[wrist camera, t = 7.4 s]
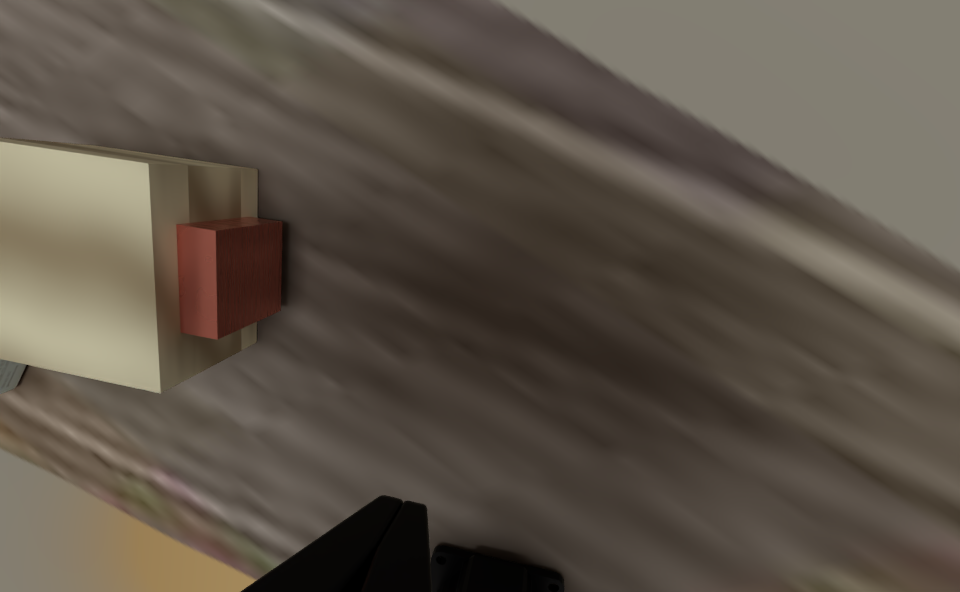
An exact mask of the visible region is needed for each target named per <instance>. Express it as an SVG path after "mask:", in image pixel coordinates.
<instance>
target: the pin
mask: <svg viewBox="0 0 960 592" xmlns="http://www.w3.org/2000/svg"><path fill="white" fill-rule="evenodd" d="M176 231H177V256H178V281H179V306H180V331H181V333H186V334H191V335H196V336H201V337H206V338H211V339H216V340H218V339H220V338H222V337H225V336H227V335H229V334H231V333H233V332H235V331H238V330H240V329H242V328H244V327H246V326H248V325H251V324H253V323H255V322H257V321H259V320H261V319H264V318H266V317H268V316H270V315H272V314H274V313H277V312H279V311H281V272H282V221H275V220H269V219H263V218H256V217H241V218H232V219H222V220H213V221H203V222H194V223H185V224H176Z"/></svg>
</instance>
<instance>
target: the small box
mask: <svg viewBox="0 0 960 592" xmlns="http://www.w3.org/2000/svg"><path fill="white" fill-rule="evenodd" d="M25 367H26V364H21V363H17V362H12V361H7V360H3V359H0V394H2V393H4V392H7V391H10V390H12V389H14V388H15V387H16V386H17V384H18V382H19V380H20V378H21V376H22V374H23V372H24V370H25Z"/></svg>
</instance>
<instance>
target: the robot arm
mask: <svg viewBox="0 0 960 592" xmlns="http://www.w3.org/2000/svg"><path fill="white" fill-rule="evenodd" d="M440 556H443V557H445V558H441V557H440ZM551 583H555V584H557V585H552V584H551ZM241 592H564V579H563V577H562V576H561V575H560V574H558V573H556V572H552V571H548V570H544V569H540V568H535V567H531V566H527V565H523V564H519V563H514V562H510V561H506V560H502V559H498V558H494V557H489V556H485V555H481V554H477V553H473V552H468V551H464V550H460V549H456V548H452V547H448V546H441V545H440V546H437V547H436V548H435V549H434V551H433V554H432V557H431V564H430V548H429V532H428V516H427V507H426V505H424V504H420V503H416V502H412V501H405V502H404V503H403V501H402V500H401V499H398V498H394V497H390V496H385V495H382V496H379V497H378V498H376V499H375V500H373V501H372V502H370V503H369V504H367V505H366V506H364V507H363V508H362V509H360V510H359V511H357V512H356V513H354V514H353V515H351V516H350V517H348V518H347V519H345V520H344V521H343V522H341V523H340V524H338V525H337V526H335V527H334V528H332V529H331V530H329V531H328V532H327V533H325V534H324V535H322V536H321V537H319V538H318V539H316V540H315V541H313V542H312V543H311V544H309V545H308V546H306V547H305V548H303V549H302V550H300V551H299V552H297V553H296V554H295V555H293V556H292V557H290V558H289V559H287V560H286V561H284V562H283V563H281V564H280V565H279V566H277V567H276V568H274V569H273V570H271V571H270V572H268V573H267V574H265V575H264V576H263V577H261V578H260V579H258V580H257V581H255V582H254V583H253V584H251V585H250V586H248V587H247V588H245V589H244V590H242V591H241Z"/></svg>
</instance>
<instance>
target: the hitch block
mask: <svg viewBox="0 0 960 592" xmlns="http://www.w3.org/2000/svg"><path fill="white" fill-rule="evenodd" d="M257 216H258V169H253V168H247V167H240V166H233V165H226V164H219V163H212V162H205V161H198V160H191V159H184V158H178V157H171V156H164V155H157V154H150V153H143V152H136V151H129V150H122V149H115V148H109V147H102V146H95V145H83V144H71V143H59V142H48V141H36V140H24V139H12V138H0V359H3V360H7V361H12V362H17V363H21V364H26V365H31V366H35V367H40V368H45V369H49V370H54V371H59V372H63V373H68V374H73V375H77V376H82V377H87V378H91V379H96V380H101V381H105V382H110V383H115V384H119V385H124V386H129V387H133V388H138V389H143V390H147V391H152V392H157V393H162V392H164V391H166V390H168V389H170V388H172V387H174V386H176V385H177V384H179V383H181V382H183V381H185V380H187V379H189V378H191V377H192V376H194V375H196V374H198V373H200V372H202V371H204V370H206V369H207V368H209V367H211V366H213V365H215V364H217V363H219V362H221V361H223V360H224V359H226V358H228V357H230V356H232V355H234V354H236V353H238V352H239V351H241V350H243V349H245V348H247V347H249V346H251V345H253V344H255V343H256V342H257V322H255V323H253V324H251V325H248V326H246V327H244V328H242V329H240V330H238V331H235V332H233V333H231V334H229V335H227V336H225V337H222V338H220V339H218V340H216V339H211V338H206V337H201V336H196V335H191V334H186V333H181V331H180V306H179V281H178V256H177V231H176V224H185V223H194V222H203V221H213V220H222V219H232V218H241V217H256V218H257Z"/></svg>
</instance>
